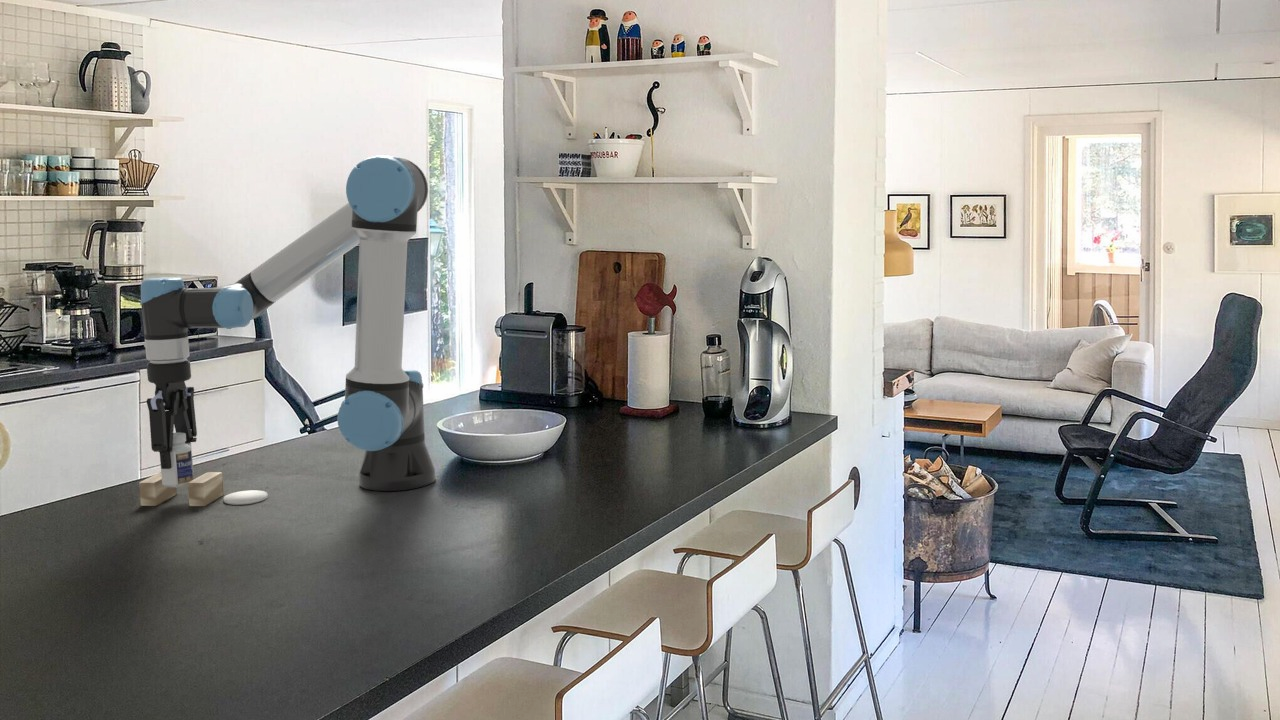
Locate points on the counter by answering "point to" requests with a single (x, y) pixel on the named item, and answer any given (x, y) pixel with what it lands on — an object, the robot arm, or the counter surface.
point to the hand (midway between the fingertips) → (178, 480)
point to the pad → (245, 497)
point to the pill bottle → (182, 460)
